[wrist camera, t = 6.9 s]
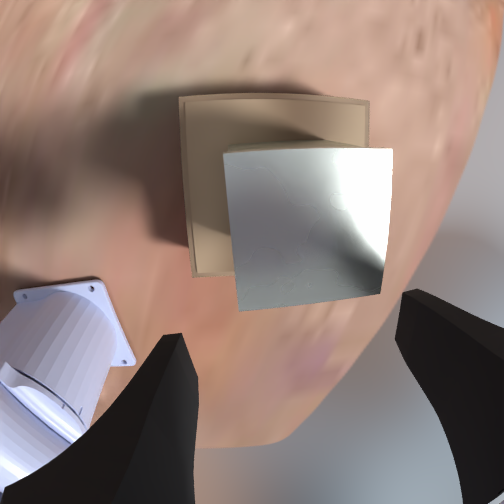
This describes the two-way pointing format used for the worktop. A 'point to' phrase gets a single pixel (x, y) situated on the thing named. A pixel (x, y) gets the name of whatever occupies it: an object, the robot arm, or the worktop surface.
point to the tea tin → (307, 220)
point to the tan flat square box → (247, 131)
